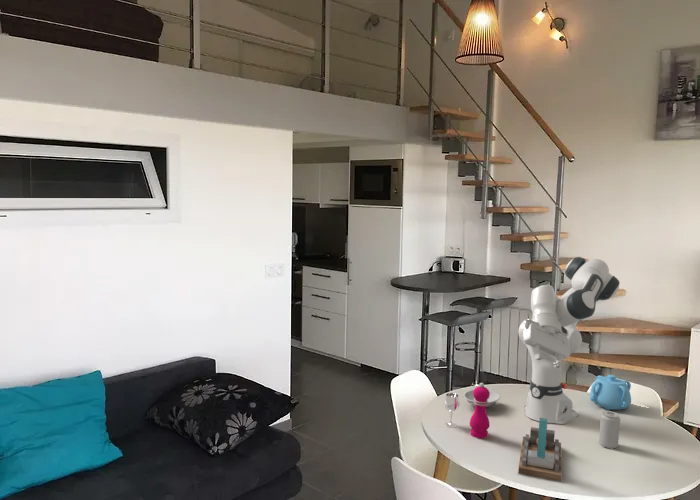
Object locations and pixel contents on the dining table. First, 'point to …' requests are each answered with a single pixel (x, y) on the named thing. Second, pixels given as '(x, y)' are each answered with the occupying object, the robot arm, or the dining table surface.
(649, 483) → the dining table surface
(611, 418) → the beverage can
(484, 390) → the pepper mill
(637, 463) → the dining table surface
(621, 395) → the decorative pot
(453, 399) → the wineglass
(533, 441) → the tray
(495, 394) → the dish
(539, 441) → the track slider block
